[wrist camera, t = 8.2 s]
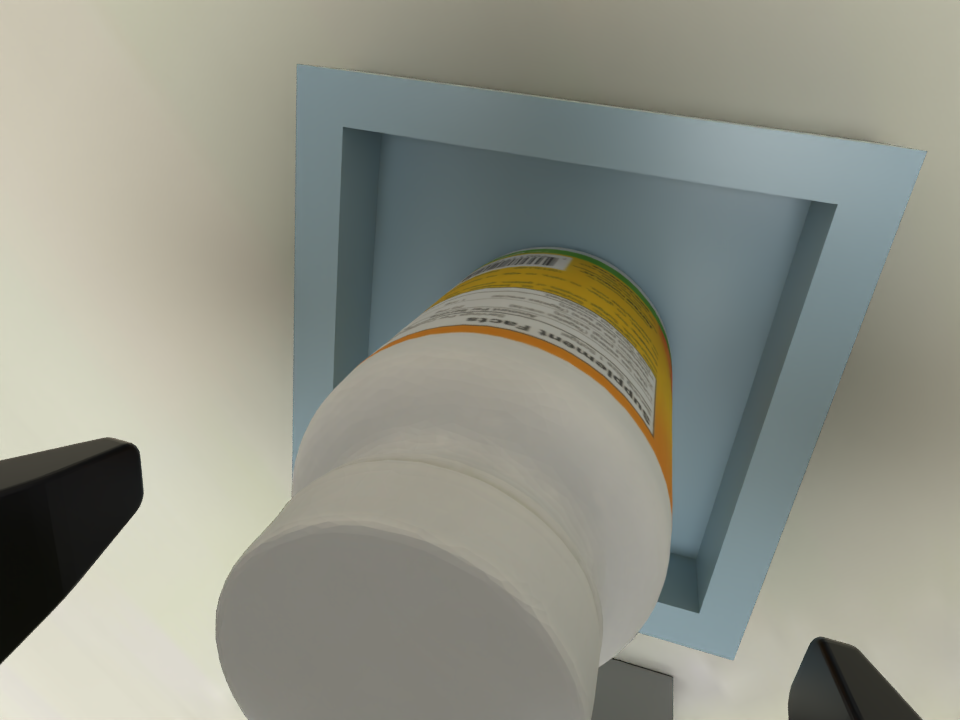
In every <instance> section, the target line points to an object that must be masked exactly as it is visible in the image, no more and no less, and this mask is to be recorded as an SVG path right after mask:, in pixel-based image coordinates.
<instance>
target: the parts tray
mask: <svg viewBox="0 0 960 720" xmlns="http://www.w3.org/2000/svg"><path fill="white" fill-rule="evenodd" d="M926 153H927V151H923V150H917V149H912V148H906V147H901V146H895V145H890V144H884V143H878V142H871V141H863V140H856V139H849V138H842V137H834V136H827V135H820V134H813V133H805V132H798V131H791V130H784V129H776V128H769V127H762V126H755V125H747V124H740V123H733V122H726V121H718V120H711V119H704V118H697V117H689V116H682V115H675V114H668V113H660V112H653V111H646V110H639V109H631V108H624V107H617V106H610V105H602V104H595V103H588V102H581V101H573V100H566V99H559V98H552V97H544V96H537V95H530V94H523V93H515V92H508V91H501V90H494V89H486V88H479V87H472V86H465V85H457V84H450V83H443V82H436V81H428V80H421V79H414V78H407V77H399V76H392V75H385V74H378V73H370V72H363V71H356V70H347V69H338V68H329V67H320V66H311V65H302V64H297V96H296V187H295V277H294V368H293V458H292V481H293V471H294V465H295V460H296V457H297V453H298V450H299V446H300V444H301V441H302V438H303V436H304V434H305V431H306V429H307V427H308V425H309V423H310V421H311V419H312V418H313V416H314V414H315V413H316V411H317V410H318V408H319V407H320V405H321V404H322V403H323V401H324V400H325V399H326V398H327V397H328V395H329V394H330V393H331V392H332V391H333V390H334V389H335V388H336V387H337V386H338V385H339V384H340V383H341V382H342V381H343V380H344V379H345V378H346V377H347V376H348V375H349V374H350V373H351V372H352V371H353V370H354V369H355V368H356V367H357V366H358V365H359V364H360V363H362V362H363V361H364V360H365V359H366V358H368V357H369V356H370V355H372V354H373V353H374V352H375V351H377V350H378V349H379V348H380V347H382V346H383V345H384V344H385V343H387V342H388V341H389V340H390V339H392V338H393V337H394V336H395V335H396V334H398V333H399V332H400V331H401V330H402V329H403V328H405V327H406V326H407V325H409V324H410V323H411V322H412V321H414V320H415V319H416V318H417V317H418V316H420V315H421V314H422V313H423V312H424V311H426V310H427V309H428V308H429V307H430V306H432V305H433V304H434V303H435V302H437V301H438V300H439V299H440V298H441V297H442V296H444V295H445V294H446V293H447V292H448V291H450V290H451V289H452V288H454V287H455V286H456V285H457V284H458V283H460V282H461V281H462V280H463V279H464V278H466V277H467V276H468V275H470V274H471V273H472V272H474V271H475V270H477V269H478V268H480V267H481V266H483V265H485V264H486V263H488V262H490V261H492V260H494V259H496V258H498V257H500V256H502V255H505V254H507V253H510V252H513V251H517V250H521V249H526V248H534V247H560V248H567V249H573V250H577V251H581V252H585V253H588V254H591V255H594V256H596V257H598V258H600V259H603V260H605V261H607V262H609V263H610V264H612V265H614V266H615V267H617V268H618V269H619V270H621V271H622V272H624V273H625V274H626V275H627V276H628V277H630V278H631V279H632V280H633V281H634V282H635V283H636V284H637V285H638V286H639V287H640V288H641V289H642V291H643V292H644V293H645V294H646V295H647V297H648V298H649V299H650V301H651V302H652V304H653V305H654V307H655V308H656V310H657V312H658V314H659V316H660V318H661V320H662V322H663V325H664V327H665V330H666V333H667V337H668V340H669V345H670V351H671V360H672V504H673V505H672V534H671V545H670V557H669V564H668V569H667V574H666V578H665V581H664V585H663V587H662V590H661V593H660V596H659V598H658V601H657V603H656V605H655V608H654V609H653V611H652V613H651V614H650V616H649V618H648V619H647V621H646V622H645V624H644V625H643V626H642V628H641V629H640V630H639V632H638V633H642V634H645V635H649V636H652V637H655V638H659V639H662V640H666V641H669V642H672V643H676V644H679V645H682V646H686V647H689V648H693V649H696V650H699V651H703V652H706V653H710V654H713V655H716V656H720V657H723V658H726V659H730V660H734V658H735V655H736V652H737V650H738V647H739V645H740V642H741V639H742V637H743V634H744V631H745V629H746V626H747V624H748V621H749V618H750V616H751V613H752V610H753V608H754V605H755V603H756V600H757V597H758V595H759V592H760V589H761V587H762V584H763V582H764V579H765V576H766V574H767V571H768V568H769V566H770V563H771V560H772V558H773V555H774V553H775V550H776V547H777V545H778V542H779V539H780V537H781V534H782V532H783V529H784V526H785V524H786V521H787V518H788V516H789V513H790V511H791V508H792V505H793V503H794V500H795V497H796V495H797V492H798V490H799V487H800V484H801V482H802V479H803V476H804V474H805V471H806V468H807V466H808V463H809V461H810V458H811V455H812V453H813V450H814V447H815V445H816V442H817V440H818V437H819V434H820V432H821V429H822V426H823V424H824V421H825V419H826V416H827V413H828V411H829V408H830V405H831V403H832V400H833V398H834V395H835V392H836V390H837V387H838V384H839V382H840V379H841V376H842V374H843V371H844V369H845V366H846V363H847V361H848V358H849V355H850V353H851V350H852V348H853V345H854V342H855V340H856V337H857V334H858V332H859V329H860V327H861V324H862V321H863V319H864V316H865V313H866V311H867V308H868V306H869V303H870V300H871V298H872V295H873V292H874V290H875V287H876V284H877V282H878V279H879V277H880V274H881V271H882V269H883V266H884V263H885V261H886V258H887V256H888V253H889V250H890V248H891V245H892V242H893V240H894V237H895V235H896V232H897V229H898V227H899V224H900V221H901V219H902V216H903V214H904V211H905V208H906V206H907V203H908V200H909V198H910V195H911V192H912V190H913V187H914V185H915V182H916V179H917V177H918V174H919V171H920V169H921V166H922V164H923V161H924V158H925V156H926Z"/></svg>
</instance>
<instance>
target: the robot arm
mask: <svg viewBox="0 0 960 720" xmlns="http://www.w3.org/2000/svg"><path fill="white" fill-rule="evenodd" d="M143 494H144V490H143V479H142V469H141V459H140V452H139V450H138V448H137V447H136V446H135V445H134V444H132V443H129V442H126V441H122V440H119V439H115V438H108V437H106V438H101V439H96V440H92V441H87V442H82V443H78V444H73V445H69V446H64V447H60V448H55V449H51V450H46V451H42V452H37V453H32V454H28V455H23V456H19V457H14V458H10V459H5V460H1V461H0V664H1V663H2V662H3V661H4V660H5V659H6V658H7V657H8V656H9V655H10V654H11V653H12V652H13V651H14V650H15V649H16V648H17V647H18V646H19V645H20V644H21V643H22V642H23V641H24V640H25V639H26V638H27V637H28V636H29V635H30V634H31V633H32V632H33V631H34V630H35V629H36V628H37V627H38V626H39V625H40V624H41V623H42V622H43V621H44V620H45V619H46V617H47V616H48V615H49V614H50V613H51V612H52V611H53V610H54V609H55V608H56V607H57V606H58V605H59V604H60V603H61V602H62V601H63V600H64V598H65V597H66V596H67V595H68V594H69V593H70V591H71V590H72V589H73V588H74V587H75V586H76V584H77V583H78V582H79V581H80V580H81V578H82V577H83V576H84V575H85V574H86V572H87V571H88V570H89V569H90V567H91V566H92V565H93V564H94V563H95V561H96V560H97V559H98V558H99V557H100V555H101V554H102V553H103V552H104V550H105V549H106V548H107V547H108V546H109V544H110V543H111V542H112V541H113V539H114V538H115V537H116V536H117V535H118V533H119V532H120V531H121V530H122V528H123V527H124V526H125V525H126V524H127V522H128V521H129V520H130V519H131V518H132V516H133V515H134V514H135V513H136V511H137V510H138V508H139V507H140V505H141V502H142V499H143ZM788 715H789V720H922V718H921V717H920V716H919V715H918V714H917V713H916V712H915V711H914V710H913V709H912V707H911V706H910V705H909V704H908V703H907V702H906V701H905V700H904V699H903V698H902V697H901V695H900V694H899V693H898V692H897V691H896V690H895V689H894V688H893V687H892V686H891V684H890V683H889V682H888V681H887V680H886V679H885V678H884V677H883V676H882V675H881V673H880V672H879V671H878V670H877V669H876V668H875V667H874V666H873V665H872V664H871V663H870V661H869V660H868V659H867V658H866V657H865V656H864V655H863V654H862V653H861V652H860V651H859V650H858V649H857V648H856V647H854V646H852V645H850V644H846V643H843V642H839V641H836V640H832V639H828V638H825V637H817V638H815V639H814V640H813V641H812V642H811V643H810V645H809V647H808V649H807V651H806V654H805V656H804V658H803V661H802V663H801V665H800V667H799V670H798V672H797V674H796V676H795V679H794V681H793V683H792V686H791V689H790V693H789V701H788Z"/></svg>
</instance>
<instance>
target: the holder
mask: <svg viewBox="0 0 960 720" xmlns="http://www.w3.org/2000/svg"><path fill="white" fill-rule="evenodd" d="M591 720H673V677H670V676H667V675H663V674H660V673H657V672H653V671H650V670H647V669H644V668H640V667H637V666H634V665H631V664H627V663H624V662H621V661H617V660H614V659H610V660H609V661H607V662H606V663H604V664H603V665H601V666H600V667H598V675H597V683H596V691H595V699H594V706H593V711H592V717H591Z"/></svg>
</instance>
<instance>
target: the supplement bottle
mask: <svg viewBox="0 0 960 720" xmlns="http://www.w3.org/2000/svg"><path fill="white" fill-rule="evenodd" d="M672 505H673V504H672V360H671V351H670V345H669V340H668V337H667V333H666V330H665V327H664V325H663V322H662V320H661V318H660V316H659V314H658V312H657V310H656V308H655V307H654V305H653V304H652V302H651V301H650V299H649V298H648V297H647V295H646V294H645V293H644V292H643V291H642V289H641V288H640V287H639V286H638V285H637V284H636V283H635V282H634V281H633V280H632V279H631V278H630V277H628V276H627V275H626V274H625V273H624V272H622V271H621V270H619V269H618V268H617V267H615V266H614V265H612V264H610V263H609V262H607V261H605V260H603V259H600V258H598V257H596V256H594V255H591V254H588V253H585V252H581V251H577V250H573V249H567V248H560V247H534V248H526V249H521V250H517V251H513V252H510V253H507V254H505V255H502V256H500V257H498V258H496V259H494V260H492V261H490V262H488V263H486V264H485V265H483V266H481V267H480V268H478V269H477V270H475V271H474V272H472V273H471V274H470V275H468V276H467V277H466V278H464V279H463V280H462V281H461V282H460V283H458V284H457V285H456V286H455V287H454V288H452V289H451V290H450V291H448V292H447V293H446V294H445V295H444V296H442V297H441V298H440V299H439V300H438V301H437V302H435V303H434V304H433V305H432V306H430V307H429V308H428V309H427V310H426V311H424V312H423V313H422V314H421V315H420V316H418V317H417V318H416V319H415V320H414V321H412V322H411V323H410V324H409V325H407V326H406V327H405V328H403V329H402V330H401V331H400V332H399V333H398V334H396V335H395V336H394V337H393V338H392V339H390V340H389V341H388V342H387V343H385V344H384V345H383V346H382V347H380V348H379V349H378V350H377V351H375V352H374V353H373V354H372V355H370V356H369V357H368V358H366V359H365V360H364V361H363V362H362V363H360V364H359V365H358V366H357V367H356V368H355V369H354V370H353V371H352V372H351V373H350V374H349V375H348V376H347V377H346V378H345V379H344V380H343V381H342V382H341V383H340V384H339V385H338V386H337V387H336V388H335V389H334V390H333V391H332V392H331V393H330V394H329V395H328V397H327V398H326V399H325V400H324V401H323V403H322V404H321V405H320V407H319V408H318V410H317V411H316V413H315V414H314V416H313V418H312V419H311V421H310V423H309V425H308V427H307V429H306V431H305V434H304V436H303V438H302V441H301V444H300V446H299V450H298V453H297V457H296V460H295V465H294V471H293V481H292V499H291V500H290V501H289V502H288V503H287V504H286V505H285V507H284V508H283V509H282V511H281V512H280V513H279V515H278V516H277V517H276V518H275V519H274V521H273V522H272V523H271V524H270V525H269V526H268V527H267V528H266V529H265V530H264V531H263V532H262V534H261V535H260V536H259V537H258V538H257V539H256V540H255V541H254V542H253V543H252V544H251V545H250V546H249V547H248V549H247V550H246V551H245V552H244V553H243V555H242V556H241V557H240V558H239V560H238V561H237V562H236V563H235V565H234V566H233V568H232V570H231V572H230V573H229V575H228V577H227V579H226V581H225V584H224V586H223V589H222V592H221V594H220V597H219V601H218V605H217V610H216V643H217V648H218V654H219V660H220V663H221V667H222V670H223V673H224V675H225V678H226V681H227V683H228V686H229V688H230V690H231V692H232V694H233V696H234V698H235V700H236V702H237V703H238V705H239V707H240V708H241V710H242V712H243V713H244V715H245V716H246V717H247V719H248V720H591V717H592V711H593V706H594V699H595V691H596V683H597V675H598V667H600V666H601V665H603V664H604V663H606V662H607V661H609V660H610V659H611V658H613V657H614V656H616V655H617V654H618V653H619V652H620V651H621V650H622V649H623V648H624V647H625V646H626V645H627V644H628V643H629V642H630V641H632V640H633V638H634V637H635V636H636V634H637V633H638V632H639V630H640V629H641V628H642V626H643V625H644V624H645V622H646V621H647V619H648V618H649V616H650V614H651V613H652V611H653V609H654V608H655V605H656V603H657V601H658V598H659V596H660V593H661V590H662V587H663V585H664V581H665V578H666V574H667V569H668V564H669V557H670V545H671V534H672Z"/></svg>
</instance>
